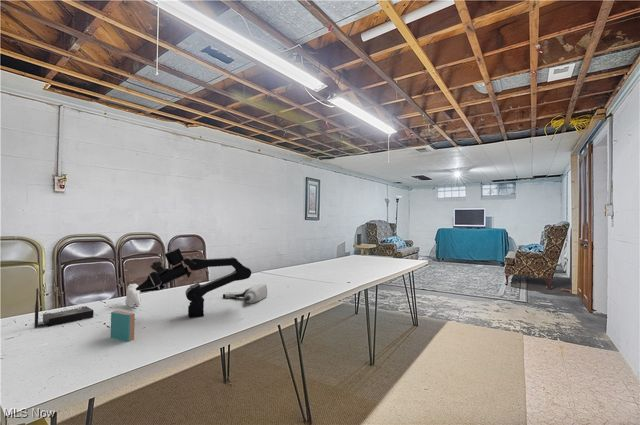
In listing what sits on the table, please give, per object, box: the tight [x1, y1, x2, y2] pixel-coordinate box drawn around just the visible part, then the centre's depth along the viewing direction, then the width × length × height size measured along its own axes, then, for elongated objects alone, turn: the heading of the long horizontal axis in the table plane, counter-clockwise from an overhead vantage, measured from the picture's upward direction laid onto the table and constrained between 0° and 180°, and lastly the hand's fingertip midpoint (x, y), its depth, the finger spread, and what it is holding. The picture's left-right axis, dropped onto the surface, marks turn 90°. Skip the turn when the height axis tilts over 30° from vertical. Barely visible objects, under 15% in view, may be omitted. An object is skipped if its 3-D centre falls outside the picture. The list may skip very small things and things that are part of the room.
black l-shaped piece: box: [34, 288, 94, 329], centre depth 138 cm, size 20×14×17 cm
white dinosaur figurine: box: [124, 282, 142, 308], centre depth 161 cm, size 7×24×11 cm, turn 44°
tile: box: [110, 310, 136, 343], centre depth 118 cm, size 2×10×10 cm, turn 68°
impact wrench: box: [222, 283, 268, 304], centre depth 174 cm, size 8×23×25 cm
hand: (138, 290), depth 135 cm, fingers open, 9 cm apart
